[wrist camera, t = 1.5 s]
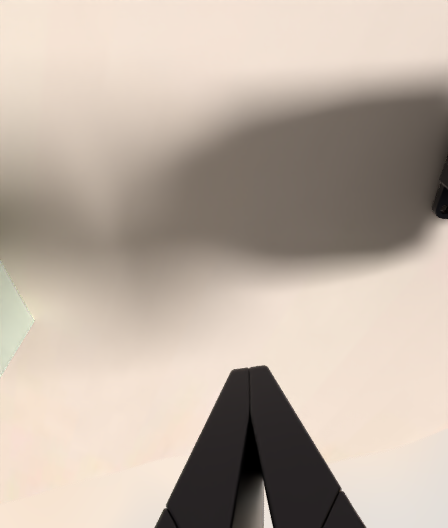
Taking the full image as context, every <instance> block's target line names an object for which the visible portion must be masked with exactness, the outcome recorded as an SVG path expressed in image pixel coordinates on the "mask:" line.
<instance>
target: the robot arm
mask: <svg viewBox="0 0 448 528" xmlns="http://www.w3.org/2000/svg"><path fill="white" fill-rule="evenodd" d="M439 180H440V182H441V184H440V186H439V189H438V192H437V195H436V197H435V200H434V203H433V206H432V210H433V212H434V214H435V215H436V216H438V217H439V218H442V219H448V206H447V208H446V209H445V210H443V211H441V208H442V207H443V206H444V205H448V156H447V159H446V161H445V164H444V167H443V170H442V173H441V175H440V179H439ZM264 486H265V491H266V496H267V500H268V505H269V510H270V515H271V520H272V524H273V528H366V526H365V525H364V523H363V522H362V520H361V519H360V517H359V515H358V514H357V513H356V511H355V509H354V508H353V506H352V505H351V503H350V501H349V499H348V498H347V496H346V495H345V493H344V492H343V491H342V490H341V487H340V485H339V484H338V482H337V480H336V479H335V477H334V475H333V474H332V472H331V470H330V469H329V467H328V465H327V464H326V462H325V460H324V459H323V457H322V455H321V454H320V452H319V451H318V449H317V447H316V446H315V444H314V442H313V441H312V439H311V437H310V436H309V434H308V432H307V431H306V429H305V427H304V426H303V424H302V423H301V421H300V419H299V418H298V416H297V414H296V413H295V411H294V409H293V408H292V406H291V404H290V403H289V401H288V399H287V398H286V396H285V395H284V393H283V391H282V390H281V388H280V386H279V385H278V383H277V381H276V380H275V378H274V376H273V375H272V373H271V372H270V370H269V368H268V367H267V366H265V365H263V366H256V367H251V368H241V369H234V370H232V371H231V373H230V375H229V377H228V379H227V381H226V383H225V385H224V387H223V389H222V391H221V393H220V395H219V397H218V399H217V401H216V403H215V405H214V407H213V409H212V411H211V414H210V416H209V418H208V420H207V422H206V424H205V426H204V428H203V430H202V432H201V434H200V436H199V438H198V440H197V442H196V444H195V446H194V448H193V450H192V453H191V455H190V457H189V459H188V461H187V463H186V465H185V467H184V469H183V471H182V473H181V475H180V477H179V479H178V481H177V483H176V485H175V487H174V489H173V492H172V494H171V496H170V498H169V500H168V502H167V504H166V507H167V508H165V509H164V510H163V512H162V514H161V516H160V518H159V520H158V522H157V524H156V526H155V528H264Z"/></svg>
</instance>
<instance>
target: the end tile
mask: <svg viewBox="0 0 448 528" xmlns="http://www.w3.org/2000/svg"><path fill="white" fill-rule="evenodd" d="M34 321H35V320H34V319H33V317H32V315H31V313H30V311H29V310H28V308H27V306H26V304H25V303H24V301H23V299H22V297H21V295H20V294H19V292H18V290H17V288H16V287H15V285H14V283H13V281H12V280H11V278H10V276H9V274H8V272H7V271H6V269H5V267H4V265H3V264H2V262H1V260H0V377H1V376H2V374H3V372H4V371H5V369H6V367H7V366H8V364H9V362H10V361H11V359H12V357H13V356H14V354H15V352H16V351H17V349H18V348H19V346H20V344H21V343H22V341H23V339H24V338H25V336H26V334H27V333H28V331H29V329H30V328H31V326H32V324H33V323H34Z"/></svg>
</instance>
